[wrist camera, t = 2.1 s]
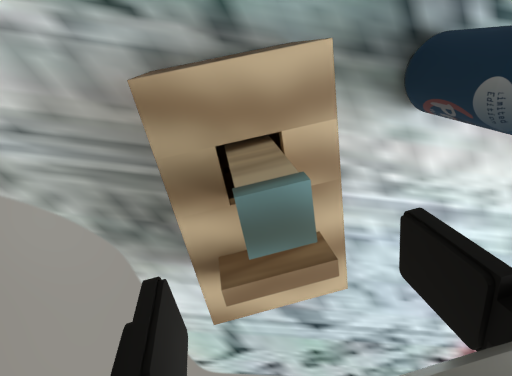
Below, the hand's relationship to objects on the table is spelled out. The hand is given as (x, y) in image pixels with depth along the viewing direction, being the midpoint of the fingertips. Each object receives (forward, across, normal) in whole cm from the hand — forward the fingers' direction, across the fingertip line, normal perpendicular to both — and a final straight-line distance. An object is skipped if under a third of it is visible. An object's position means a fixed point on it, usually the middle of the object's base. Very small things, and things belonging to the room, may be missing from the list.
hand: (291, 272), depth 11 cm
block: (+17, 0, -1) cm, 17 cm away
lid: (+11, 0, +2) cm, 11 cm away
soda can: (+18, -20, -3) cm, 27 cm away
